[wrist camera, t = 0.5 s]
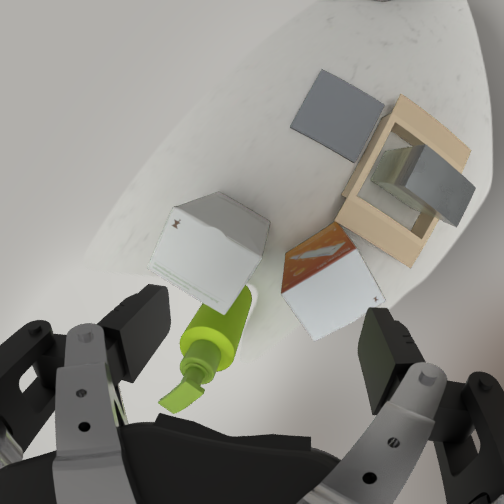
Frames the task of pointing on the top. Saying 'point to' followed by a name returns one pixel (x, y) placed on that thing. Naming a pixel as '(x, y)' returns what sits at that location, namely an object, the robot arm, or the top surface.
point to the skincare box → (210, 249)
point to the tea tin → (425, 182)
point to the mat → (337, 115)
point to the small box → (328, 282)
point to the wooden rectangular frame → (354, 208)
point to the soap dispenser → (207, 349)
